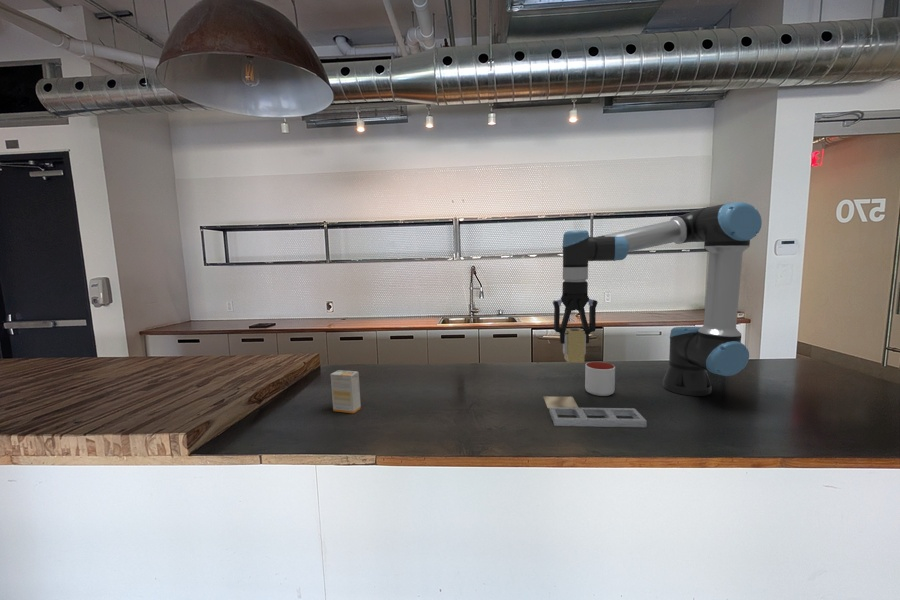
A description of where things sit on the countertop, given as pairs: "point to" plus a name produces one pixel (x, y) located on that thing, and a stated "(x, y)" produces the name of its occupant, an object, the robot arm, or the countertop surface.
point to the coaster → (560, 402)
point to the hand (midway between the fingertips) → (574, 353)
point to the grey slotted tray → (608, 421)
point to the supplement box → (345, 391)
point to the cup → (600, 378)
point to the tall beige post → (575, 345)
